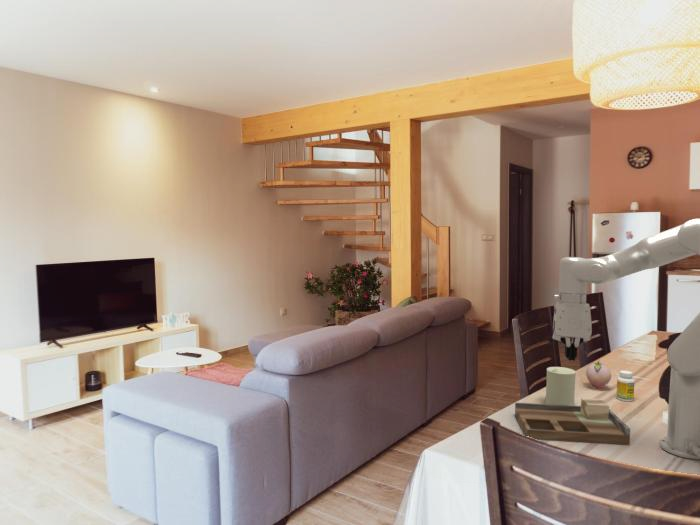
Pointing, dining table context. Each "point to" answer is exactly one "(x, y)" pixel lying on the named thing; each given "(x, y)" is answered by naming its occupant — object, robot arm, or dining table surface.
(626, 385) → the supplement bottle
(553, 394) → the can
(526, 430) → the brown wooden tray
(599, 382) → the decorative fruit
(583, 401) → the block
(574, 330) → the robot arm
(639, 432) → the dining table surface
